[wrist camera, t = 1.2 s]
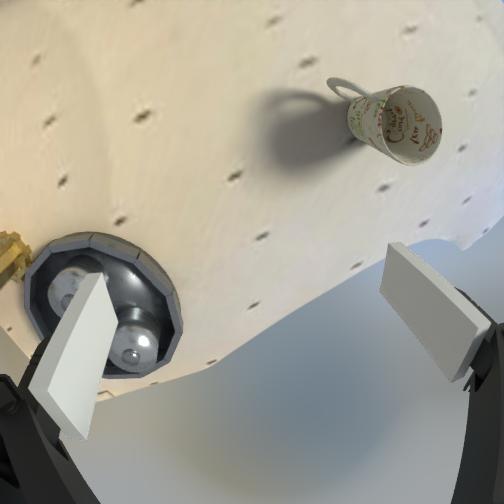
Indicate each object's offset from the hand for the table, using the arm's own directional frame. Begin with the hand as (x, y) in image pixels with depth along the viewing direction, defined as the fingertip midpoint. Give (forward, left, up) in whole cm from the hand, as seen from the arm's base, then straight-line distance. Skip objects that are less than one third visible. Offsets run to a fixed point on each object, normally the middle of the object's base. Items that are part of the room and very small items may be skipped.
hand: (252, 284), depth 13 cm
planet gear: (-11, -31, -24) cm, 41 cm away
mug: (+2, +18, -24) cm, 30 cm away
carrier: (+4, -26, -24) cm, 35 cm away
